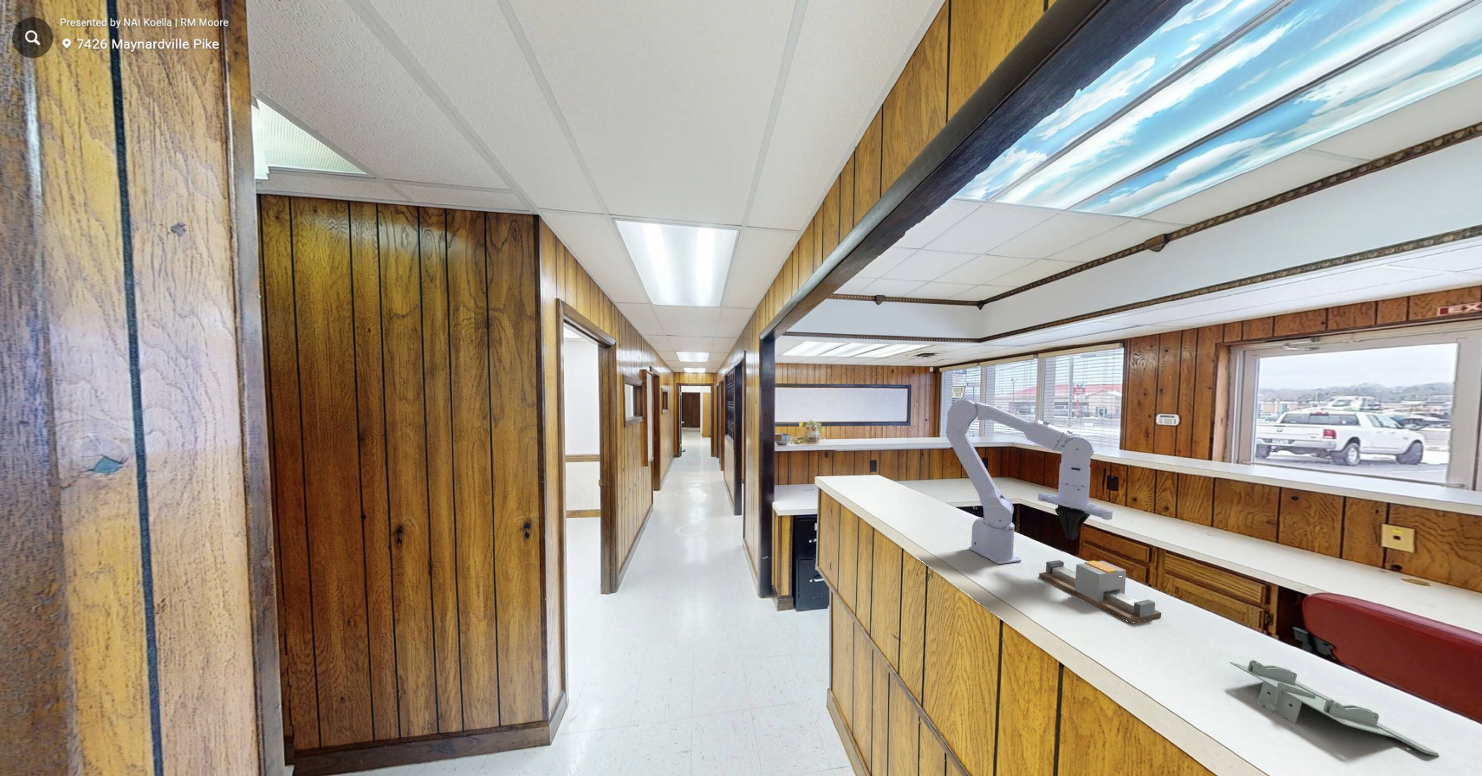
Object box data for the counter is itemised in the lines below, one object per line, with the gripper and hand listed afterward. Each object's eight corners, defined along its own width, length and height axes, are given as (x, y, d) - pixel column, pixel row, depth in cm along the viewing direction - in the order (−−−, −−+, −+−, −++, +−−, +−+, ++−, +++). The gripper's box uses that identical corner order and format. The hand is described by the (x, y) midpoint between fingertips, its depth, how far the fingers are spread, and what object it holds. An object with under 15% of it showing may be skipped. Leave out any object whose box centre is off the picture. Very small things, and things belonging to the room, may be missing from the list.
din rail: (1045, 571, 94) (1046, 561, 94) (1059, 569, 95) (1059, 560, 95) (1139, 617, 76) (1140, 605, 76) (1154, 614, 77) (1155, 602, 77)
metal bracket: (1371, 723, 48) (1211, 640, 63) (1357, 766, 48) (1200, 674, 63) (1450, 744, 50) (1277, 659, 65) (1437, 786, 50) (1266, 691, 65)
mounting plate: (1039, 577, 93) (1039, 573, 93) (1065, 573, 95) (1066, 569, 95) (1130, 623, 76) (1131, 618, 76) (1161, 617, 78) (1161, 612, 78)
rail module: (1074, 590, 86) (1076, 563, 85) (1101, 586, 88) (1102, 559, 88) (1097, 601, 81) (1099, 573, 81) (1124, 596, 83) (1126, 568, 83)
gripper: (1031, 477, 99) (1029, 528, 99) (1101, 494, 85) (1098, 553, 86) (1048, 475, 101) (1045, 525, 102) (1118, 491, 88) (1115, 548, 88)
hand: (1070, 538), depth 94 cm, fingers closed
